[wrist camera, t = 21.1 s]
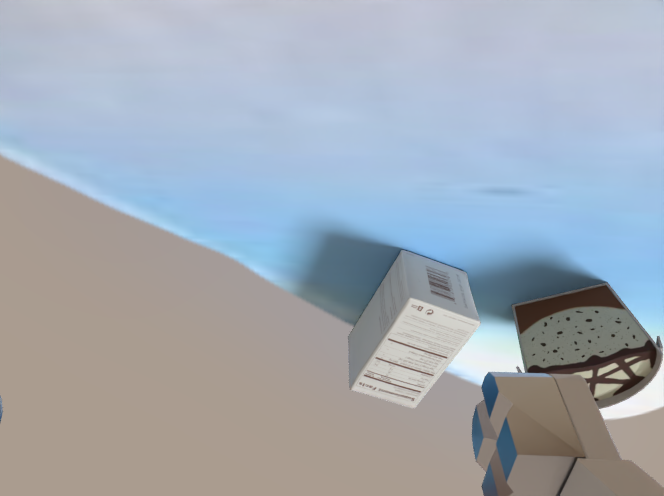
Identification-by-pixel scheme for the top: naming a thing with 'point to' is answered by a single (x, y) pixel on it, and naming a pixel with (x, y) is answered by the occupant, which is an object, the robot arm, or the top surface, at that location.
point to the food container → (588, 342)
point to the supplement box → (411, 330)
